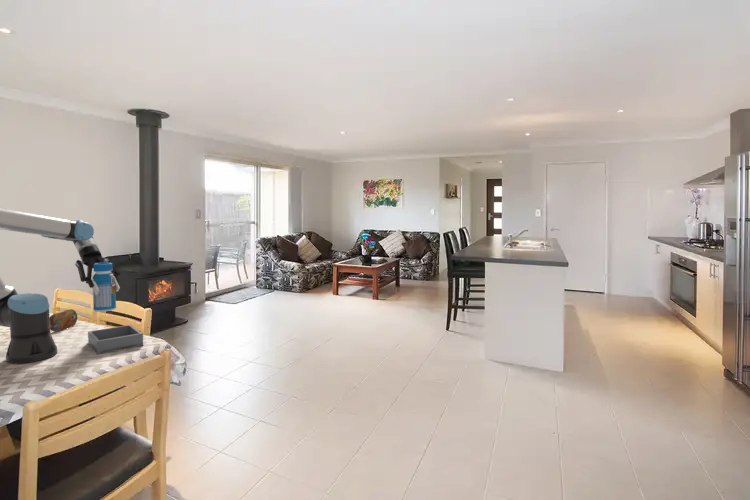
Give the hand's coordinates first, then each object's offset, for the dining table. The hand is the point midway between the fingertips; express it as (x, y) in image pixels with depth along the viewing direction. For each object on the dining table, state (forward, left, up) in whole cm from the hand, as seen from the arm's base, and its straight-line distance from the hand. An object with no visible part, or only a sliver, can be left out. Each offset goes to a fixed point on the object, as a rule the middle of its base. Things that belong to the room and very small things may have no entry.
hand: (108, 291), depth 177 cm
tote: (-5, -5, -22) cm, 22 cm away
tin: (+19, +32, -22) cm, 43 cm away
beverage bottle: (+2, +3, -9) cm, 9 cm away
